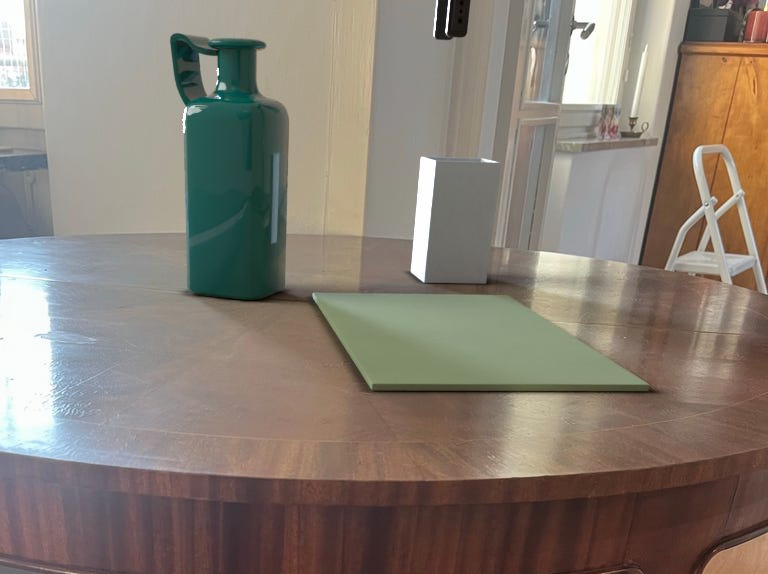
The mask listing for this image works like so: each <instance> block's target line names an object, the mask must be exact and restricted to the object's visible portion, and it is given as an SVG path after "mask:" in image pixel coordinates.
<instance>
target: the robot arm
mask: <svg viewBox="0 0 768 574" xmlns="http://www.w3.org/2000/svg"><path fill="white" fill-rule="evenodd" d="M471 1H472V0H435V13H434V23H433V38H434V40H437V41H451V40H452V39H454V38H459V39H460V38H465V37H466V36H467V34H468V29H469V20H470V9H471Z"/></svg>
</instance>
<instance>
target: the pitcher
mask: <svg viewBox="0 0 768 574" xmlns="http://www.w3.org/2000/svg"><path fill="white" fill-rule="evenodd" d="M169 45H170V53H171V62H172V68H173V69H172V70H173V76H174V82H175V86H176V89H177V92H178V94H179V96H180V98H181V100H182V102H183V104H184V105H185V109H184V113H183V119H182V121H183V158H184V161H183V163H184V165H183V166H184V198H185V199H184V201H185V202H184V203H185V206H184V208H185V241H186V243H185V245H186V287H187V290H188V291H189V292H190V293H192V294H193V295H197V296H203V297H212V298H220V299H221V298H222V299H231V300H240V301H258V300H262V299H264V298H267V297H269V296H273V295H274V294H277V293H279V292H282V291H283V290H284V289H285V287H286V265H287V264H286V263H287V262H286V261H287V260H286V259H287V224H288V186H289V185H288V181H289V178H288V177H289V176H288V175H289V146H290V145H289V143H290V142H289V141H290V116H289V113H288V110H287V108H286V106H285V105H284V104H283V103H281V102H280V101H279V100H277V99H274V98H270V97H268V96H265V95H263V94H262V92H261V91H260V90H259V87H258V82H257V78H258V77H257V71H258V70H257V69H258V67H257V66H258V64H257V63H258V52H260V51H263V50H265V49H266V48H267V43H266V42H265V41H264V40H261V39H256V38H243V37H242V38H241V37H215V38H208V37H207V36H202V35H197V34H196V35H194V34H187V33H179V32H176V33H175V32H174V33H172V34H171V35H170V38H169ZM200 54H201V55H203V56H209V57H216V58H217V82H216V85H215V88H214V89H213V91H212V92H211V93H209V94H207V92H206V90H205V87H204V83H203V79H202V72H201V61H200Z"/></svg>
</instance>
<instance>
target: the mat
mask: <svg viewBox="0 0 768 574" xmlns="http://www.w3.org/2000/svg"><path fill="white" fill-rule="evenodd" d="M312 299H313V300H314V302H315V304H316V305H317V306H318V308H319V309H320V311H321V313H322V315H323V316H324V318H325V319H326V321H327V322H328V324H329V325H330V327H331V329H332V331H333V332H334V333H335V335H336V336H337V338H338V340H339V341H340V343H341V345H342V346H343V347H344V349H345V351H346V352H347V354H348V355H349V357H350V358H351V360H352V361H353V363H354V365H355V366H356V367H357V369H358V371H359V373H360V374H361V376H362V377H363V379H364V381H365V382H366V384H367V385H368V387H369V388H370V390H371V391H372V392H373V391H375V392H377V391H381V392H382V391H384V392H385V391H386V392H387V391H388V392H390V391H393V392H394V391H395V392H396V391H397V392H400V391H403V392H404V391H405V392H406V391H407V392H410V391H411V392H412V391H413V392H415V391H416V392H417V391H419V392H422V391H423V392H427V391H429V392H432V391H433V392H649V391H650V386H651V384H649V383H648V382H647V381H645V380H643V379H642V378H640V377H638V375H635V373H632V372H631V371H629V370H628V369H626V368H624V367H623V366H621V365H619V364H618V363H616V362H615V361H613V360H612V359H610V358H608V357H607V356H605V355H603V354H602V353H601V352H599V351H598V350H595V349H594V348H592V347H591V346H590V345H588V344H586V343H585V342H583V341H581V340H579V339H578V338H577V337H575V336H574V335H572V334H570V333H569V332H567V331H565V330H564V329H562V328H560V326H558V325H556V324H554V323H553V322H551V321H550V320H548V319H547V318H545V317H544V316H542V315H540V314H538V313H537V312H535V311H534V310H532V309H530V308H529V307H528V306H525V305H524V304H522V303H521V302H519V301H518V300H516V299H515V298H513V297H512V296H510V295H508V294H463V293H462V294H459V293H458V294H453V293H385V292H384V293H379V292H377V293H373V292H312Z"/></svg>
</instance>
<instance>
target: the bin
mask: <svg viewBox="0 0 768 574" xmlns="http://www.w3.org/2000/svg"><path fill="white" fill-rule="evenodd" d="M501 168H502V162H500V161H496V160H492V159H488V158H483V157H480V158H479V157H448V156H447V157H445V156H421V157H420V162H419V175H418V185H417V186H418V187H417V196H416V197H417V199H416V210H415V221H414V232H413V243H412V253H411V254H412V255H411V256H412V257H411V266H410V273H411V274H412V275H414V276H415V277H416V278H417V279H418V280H420V281H421V282H423V284H475V285H476V284H479V285H483V284H487V278H488V271H489V264H490V255H491V249H492V239H493V230H494V224H495V215H496V208H497V199H498V192H499V185H500V178H501V177H500V176H501Z"/></svg>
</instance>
